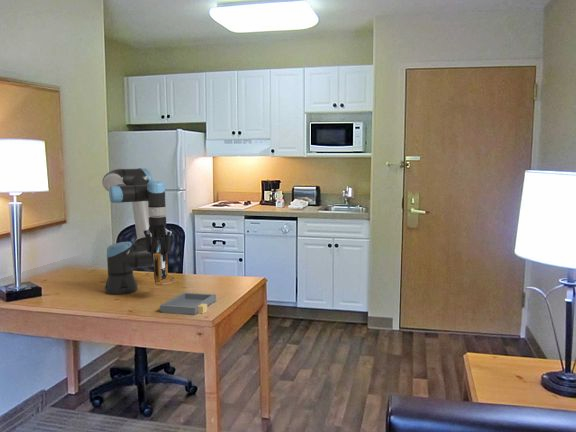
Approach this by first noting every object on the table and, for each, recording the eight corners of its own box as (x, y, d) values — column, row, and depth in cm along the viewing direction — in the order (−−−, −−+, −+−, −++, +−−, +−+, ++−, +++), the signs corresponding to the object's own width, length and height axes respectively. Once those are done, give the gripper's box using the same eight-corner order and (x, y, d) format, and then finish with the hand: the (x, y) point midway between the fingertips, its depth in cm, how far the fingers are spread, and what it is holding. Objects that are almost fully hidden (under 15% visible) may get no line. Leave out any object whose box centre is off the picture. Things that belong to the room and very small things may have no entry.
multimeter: (170, 286, 223) (168, 241, 220) (150, 284, 226) (148, 240, 223) (186, 278, 237) (184, 235, 234) (166, 276, 240) (165, 234, 237)
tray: (160, 312, 213) (159, 305, 213) (183, 298, 233) (183, 292, 233) (200, 315, 208) (200, 308, 208) (221, 301, 228) (221, 294, 228)
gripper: (136, 216, 226) (139, 268, 229) (169, 217, 221) (171, 271, 224) (146, 214, 233) (148, 265, 236) (177, 215, 228) (179, 267, 232)
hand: (159, 267), depth 230 cm, fingers closed on multimeter, 3 cm apart
